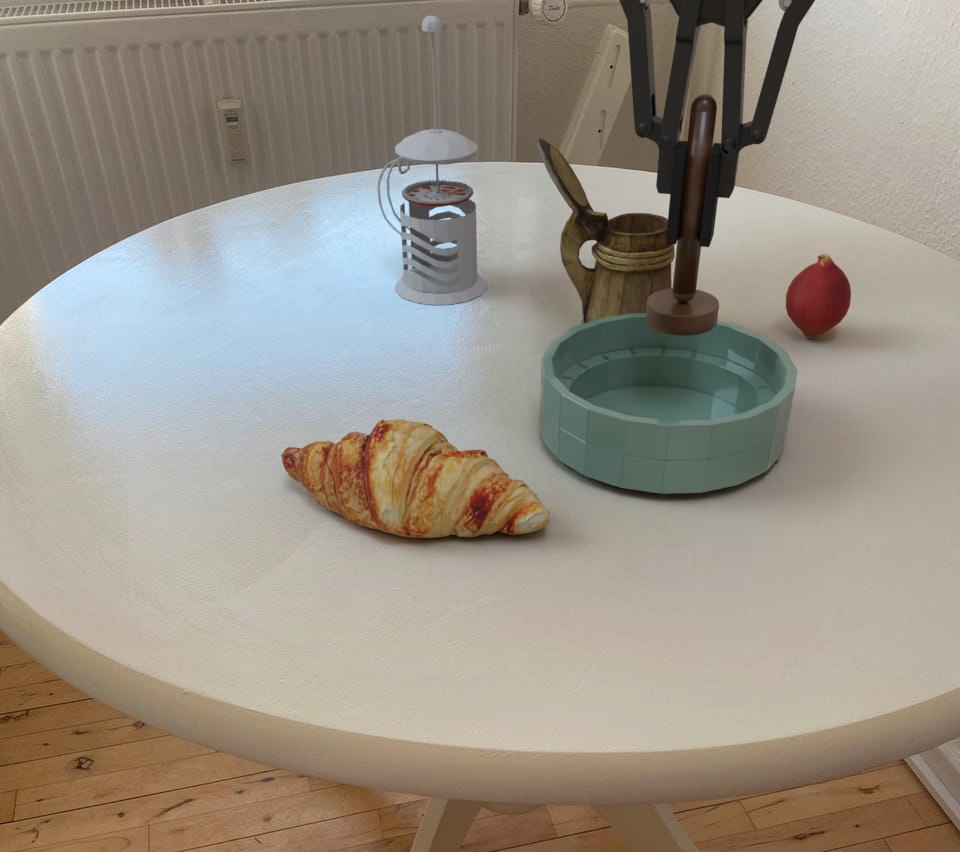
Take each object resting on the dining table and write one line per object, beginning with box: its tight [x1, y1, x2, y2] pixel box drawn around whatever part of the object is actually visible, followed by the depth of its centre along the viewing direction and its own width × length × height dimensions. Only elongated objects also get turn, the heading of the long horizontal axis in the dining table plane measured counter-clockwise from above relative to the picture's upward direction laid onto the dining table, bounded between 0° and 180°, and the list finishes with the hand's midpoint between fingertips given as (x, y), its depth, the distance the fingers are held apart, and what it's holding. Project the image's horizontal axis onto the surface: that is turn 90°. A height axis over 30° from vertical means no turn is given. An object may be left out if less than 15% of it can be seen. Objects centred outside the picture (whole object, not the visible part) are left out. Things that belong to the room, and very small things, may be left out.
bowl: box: [539, 313, 798, 495], centre depth 85 cm, size 20×20×6 cm
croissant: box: [281, 419, 550, 539], centre depth 77 cm, size 21×10×8 cm, turn 71°
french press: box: [376, 15, 488, 306], centre depth 104 cm, size 10×12×25 cm
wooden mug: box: [537, 137, 676, 325], centre depth 95 cm, size 9×14×18 cm, turn 82°
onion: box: [785, 253, 852, 339], centre depth 99 cm, size 6×6×8 cm
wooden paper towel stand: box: [645, 93, 720, 336], centre depth 79 cm, size 6×6×16 cm
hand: (689, 238), depth 80 cm, fingers closed on wooden paper towel stand, 2 cm apart
